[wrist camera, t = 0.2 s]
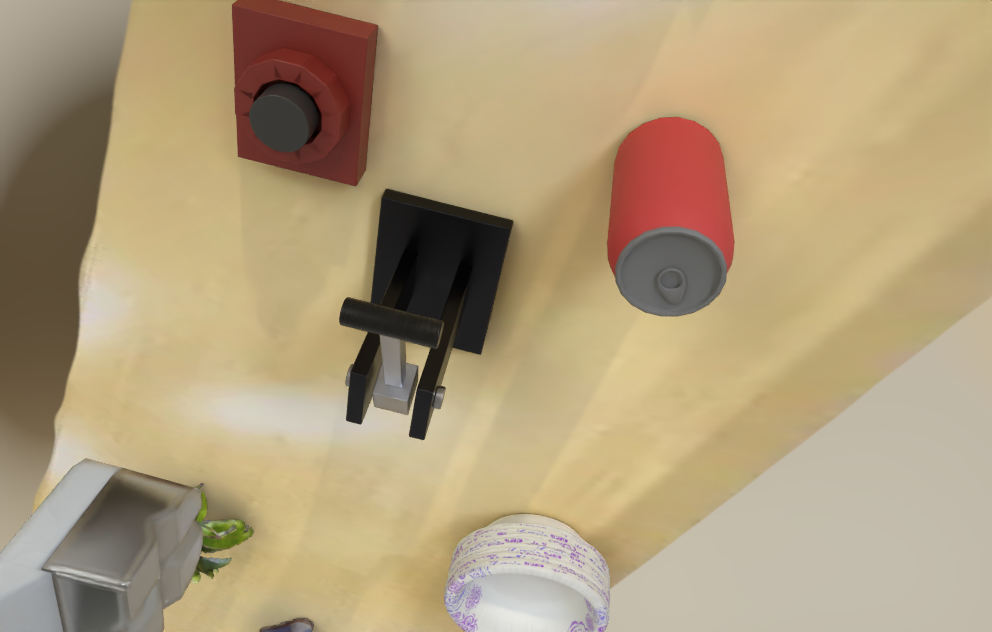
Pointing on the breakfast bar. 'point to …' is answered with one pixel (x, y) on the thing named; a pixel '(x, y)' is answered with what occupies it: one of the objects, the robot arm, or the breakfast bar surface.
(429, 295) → the bracket
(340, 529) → the breakfast bar surface
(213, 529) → the passion flower
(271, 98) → the button
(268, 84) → the button box
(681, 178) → the beer can
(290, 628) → the flask
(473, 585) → the paper bowls
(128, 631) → the robot arm
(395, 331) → the lever
